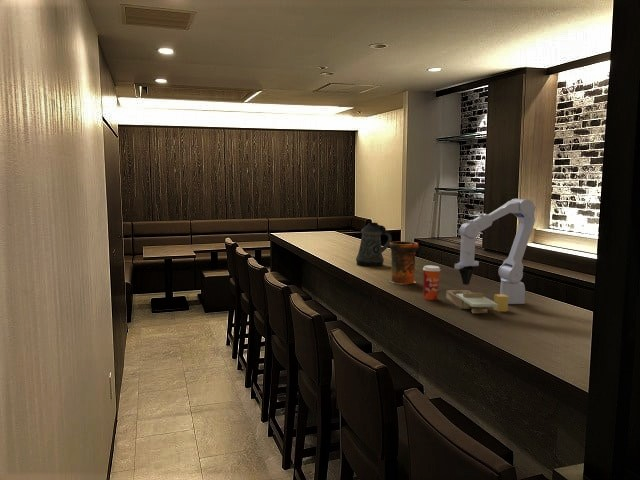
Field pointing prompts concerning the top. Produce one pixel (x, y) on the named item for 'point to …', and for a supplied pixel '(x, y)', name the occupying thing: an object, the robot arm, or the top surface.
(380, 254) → the beer stein
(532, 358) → the top surface
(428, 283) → the paper cup
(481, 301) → the lid
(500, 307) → the yellow block
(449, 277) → the top surface
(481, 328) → the top surface
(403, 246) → the vessel
